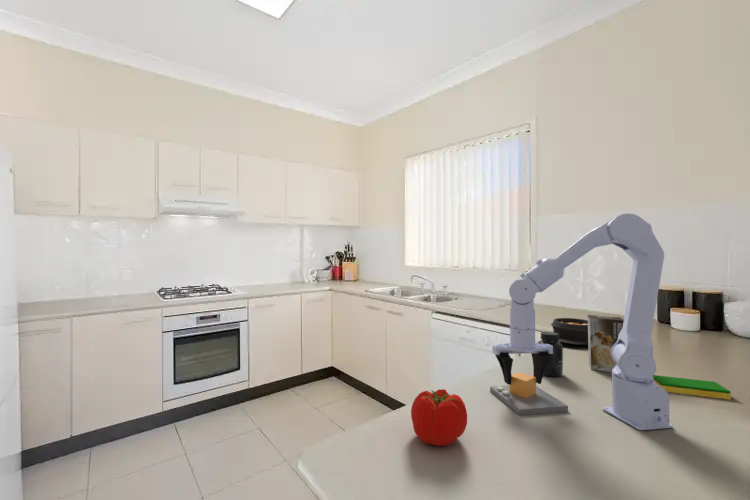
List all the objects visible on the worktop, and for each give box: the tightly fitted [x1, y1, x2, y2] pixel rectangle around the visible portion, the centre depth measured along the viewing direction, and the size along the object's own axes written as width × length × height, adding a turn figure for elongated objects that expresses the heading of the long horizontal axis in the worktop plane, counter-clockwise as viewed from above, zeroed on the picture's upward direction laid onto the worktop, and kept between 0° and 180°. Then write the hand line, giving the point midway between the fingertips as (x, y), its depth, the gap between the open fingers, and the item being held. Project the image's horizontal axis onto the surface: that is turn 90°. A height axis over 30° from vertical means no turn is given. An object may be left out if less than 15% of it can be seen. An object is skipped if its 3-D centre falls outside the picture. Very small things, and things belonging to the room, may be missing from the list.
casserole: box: [550, 317, 588, 346], centre depth 136 cm, size 25×19×8 cm
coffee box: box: [587, 314, 624, 373], centre depth 104 cm, size 9×6×16 cm
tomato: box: [410, 389, 468, 447], centre depth 64 cm, size 11×11×9 cm
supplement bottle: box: [537, 331, 564, 378], centre depth 100 cm, size 7×7×12 cm
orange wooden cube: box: [510, 371, 537, 398], centre depth 83 cm, size 4×4×4 cm
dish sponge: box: [653, 374, 732, 400], centre depth 88 cm, size 7×14×2 cm, turn 68°
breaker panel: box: [489, 384, 569, 416], centre depth 81 cm, size 13×12×2 cm
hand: (522, 382), depth 83 cm, fingers open, 7 cm apart
